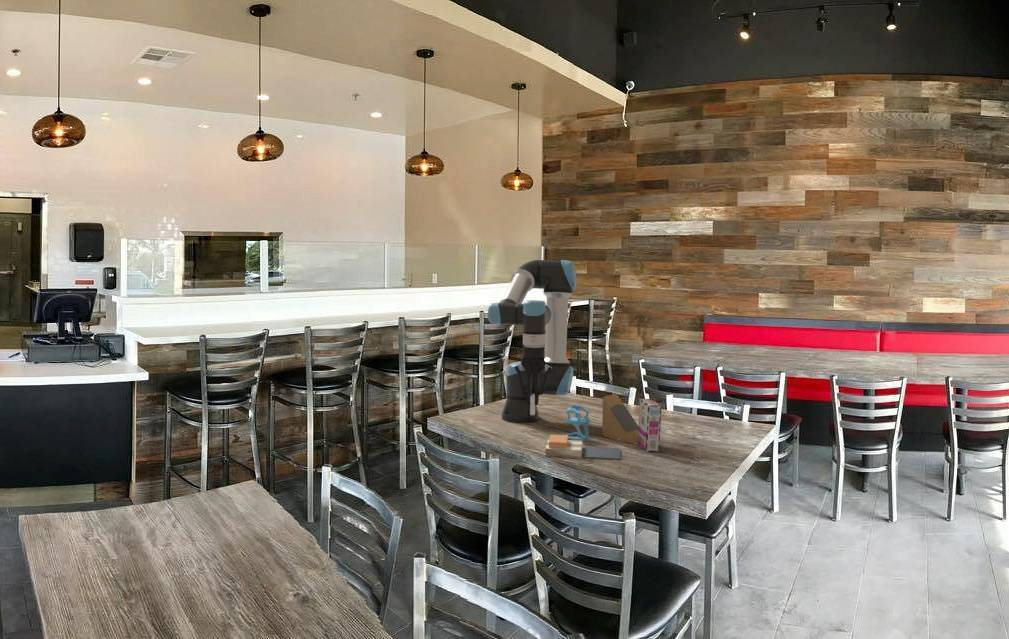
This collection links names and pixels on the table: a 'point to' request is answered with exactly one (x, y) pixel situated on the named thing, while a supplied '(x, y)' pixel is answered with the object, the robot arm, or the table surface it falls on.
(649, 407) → the candy bar box
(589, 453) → the mat
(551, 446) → the orange flat block
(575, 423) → the chair
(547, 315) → the robot arm
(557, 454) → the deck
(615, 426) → the sandwich container
